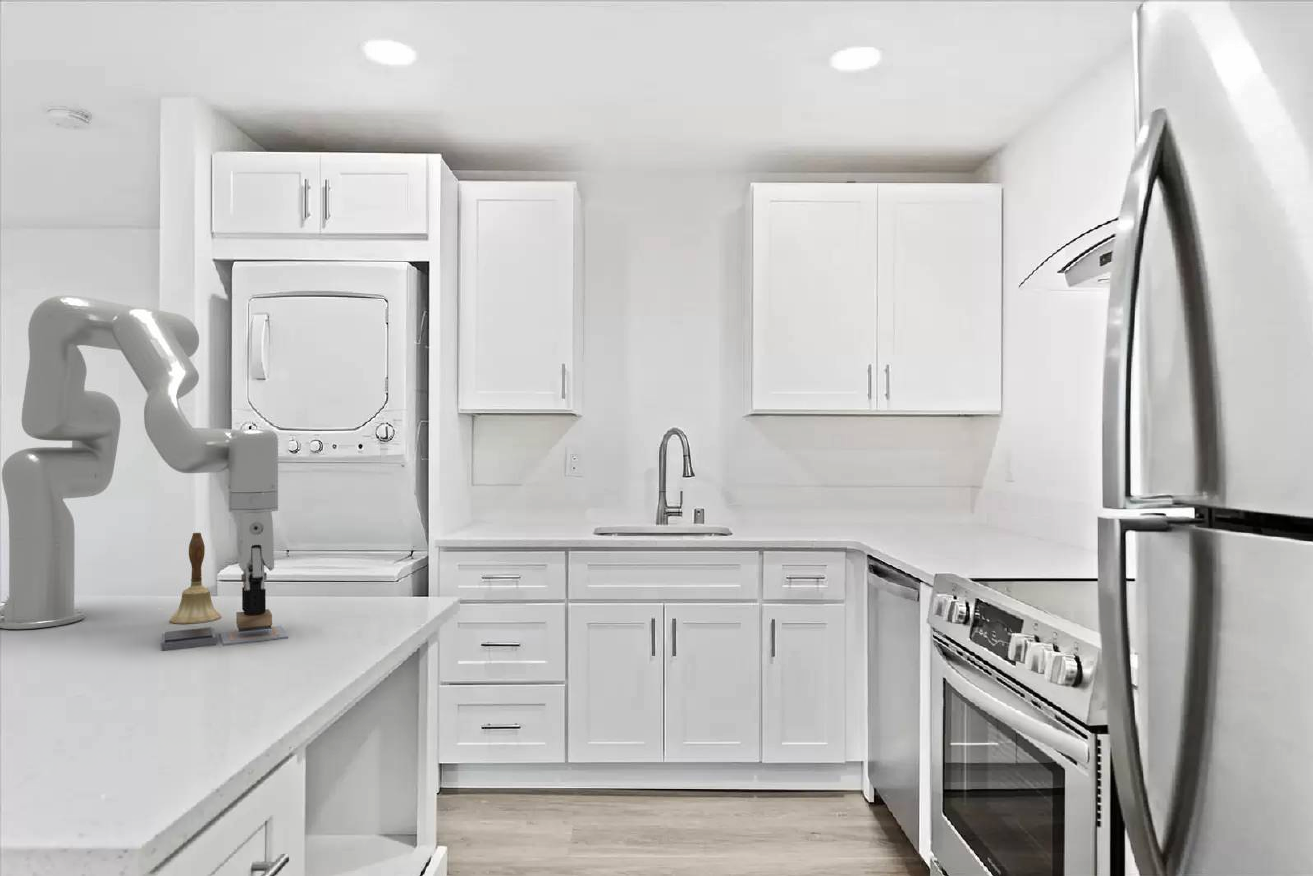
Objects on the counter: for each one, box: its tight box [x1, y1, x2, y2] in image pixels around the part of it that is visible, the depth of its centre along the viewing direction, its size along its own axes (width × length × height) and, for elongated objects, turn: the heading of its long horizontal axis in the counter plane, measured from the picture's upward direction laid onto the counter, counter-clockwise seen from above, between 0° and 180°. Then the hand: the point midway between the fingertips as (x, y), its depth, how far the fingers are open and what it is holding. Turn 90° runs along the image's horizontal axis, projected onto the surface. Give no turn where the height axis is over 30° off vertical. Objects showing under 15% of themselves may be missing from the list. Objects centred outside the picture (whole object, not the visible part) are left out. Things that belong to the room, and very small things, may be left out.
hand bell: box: [169, 532, 222, 625], centre depth 152 cm, size 8×8×16 cm
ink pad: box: [160, 627, 217, 651], centre depth 134 cm, size 8×8×2 cm
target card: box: [219, 625, 289, 646], centre depth 139 cm, size 10×10×1 cm
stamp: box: [235, 572, 273, 632], centre depth 139 cm, size 5×5×9 cm
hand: (253, 610), depth 139 cm, fingers closed on stamp, 3 cm apart
